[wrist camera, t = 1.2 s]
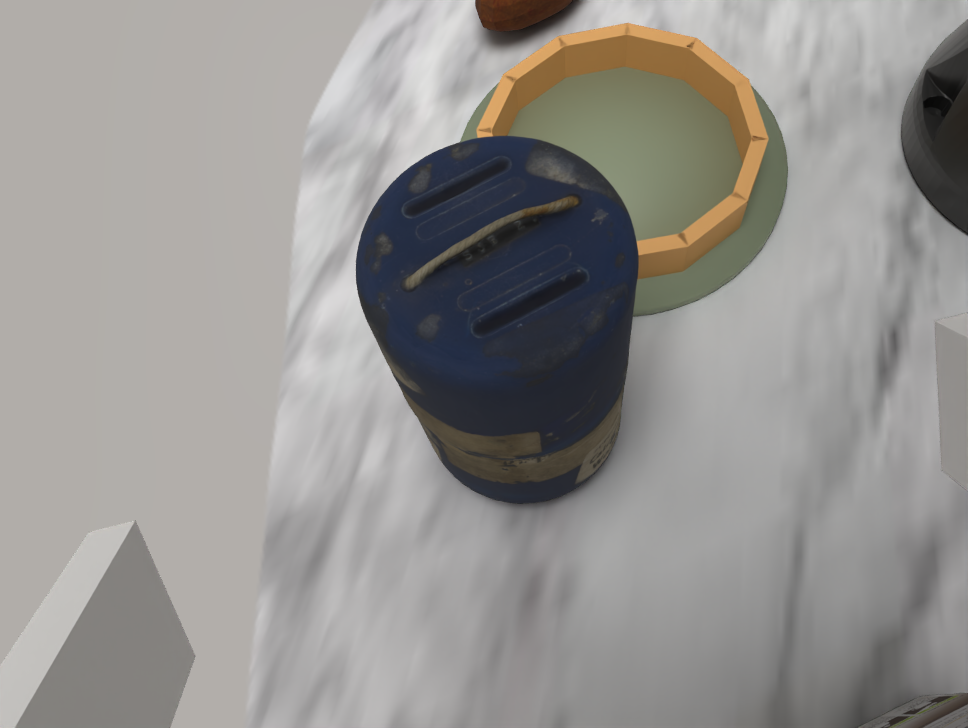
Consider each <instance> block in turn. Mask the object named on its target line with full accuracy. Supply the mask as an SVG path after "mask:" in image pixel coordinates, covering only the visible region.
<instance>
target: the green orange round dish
mask: <svg viewBox="0 0 968 728" xmlns="http://www.w3.org/2000/svg"><path fill="white" fill-rule="evenodd" d="M489 136H517V137H527V138H533V139H539V140H542V141H546V142H549V143H552V144H554V145H557V146H559V147H562V148H564V149H566V150H568V151H570V152H572V153H574V154H576V155H578V156H579V157H581V158H582V159H584V160H586V161H587V162H588V163H590V164H591V165H592V166H593V167H595V168H596V169H597V170H598V171H599V172H600V173H601V174H602V175H603V176H604V177H605V178H606V179H607V180H608V181H609V182H610V184H611V185H612V186H613V187H614V189H615V190H616V192H617V193H618V194H619V196H620V197H621V199H622V200H623V202H624V204H625V206H626V208H627V210H628V213H629V215H630V218H631V221H632V224H633V227H634V231H635V235H636V241H637V247H638V255H639V268H638V279H637V286H636V294H635V303H634V311H633V316H639V315H648V314H654V313H658V312H663V311H667V310H671V309H675V308H678V307H680V306H683V305H686V304H689V303H691V302H694V301H696V300H698V299H700V298H702V297H704V296H706V295H708V294H710V293H712V292H714V291H716V290H717V289H719V288H720V287H721V286H723V285H724V284H726V283H727V282H729V281H730V280H732V279H733V278H734V277H735V276H736V275H737V274H739V273H740V272H741V271H742V270H743V269H744V268H745V267H746V266H747V265H748V264H749V263H750V262H751V261H752V260H753V258H754V257H755V256H756V255H757V254H758V252H759V251H760V250H761V249H762V247H763V246H764V244H765V242H766V241H767V239H768V237H769V236H770V234H771V232H772V230H773V228H774V225H775V223H776V221H777V218H778V216H779V213H780V210H781V208H782V204H783V200H784V196H785V192H786V187H787V174H788V166H787V155H786V149H785V145H784V141H783V137H782V133H781V131H780V129H779V126H778V124H777V122H776V119H775V117H774V115H773V114H772V112H771V110H770V109H769V107H768V106H767V104H766V102H765V101H764V100H763V99H762V97H761V96H760V95H759V94H758V93H757V91H756V90H755V89H754V88H753V87H752V86H751V84H750V82H749V79H748V78H746V77H745V76H744V75H743V74H741V73H740V72H739V71H737V70H736V69H735V68H734V67H732V66H731V65H730V64H729V63H727V62H726V61H725V60H724V59H722V58H721V57H720V56H719V55H717V54H716V53H715V52H714V51H712V50H711V49H710V48H709V47H707V46H706V45H705V44H704V43H702V42H701V41H700V40H699V39H697V38H694V37H689V36H685V35H680V34H676V33H671V32H666V31H662V30H657V29H653V28H648V27H644V26H639V25H634V24H630V23H625V24H620V25H615V26H609V27H604V28H599V29H594V30H588V31H583V32H578V33H572V34H567V35H562V36H558V37H556V38H555V39H553V40H552V41H551V42H549V43H548V44H546V45H545V46H543V47H542V48H540V49H539V50H538V51H536V52H535V53H533V54H532V55H530V56H529V57H528V58H526V59H525V60H523V61H522V62H520V63H519V64H517V65H516V66H515V67H513V68H512V69H510V70H509V71H507V72H506V73H505V74H503V76H502V78H501V80H500V82H499V83H498V84H497V85H496V86H495V87H494V88H493V89H492V90H491V91H490V92H489V93H488V94H487V95H486V97H485V98H484V99H483V101H482V102H481V103H480V104H479V106H478V107H477V108H476V110H475V112H474V113H473V115H472V117H471V119H470V120H469V122H468V124H467V126H466V129H465V131H464V133H463V136H462V138H461V141H460V142H463V141H466V140H470V139H475V138H481V137H489Z"/></svg>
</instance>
